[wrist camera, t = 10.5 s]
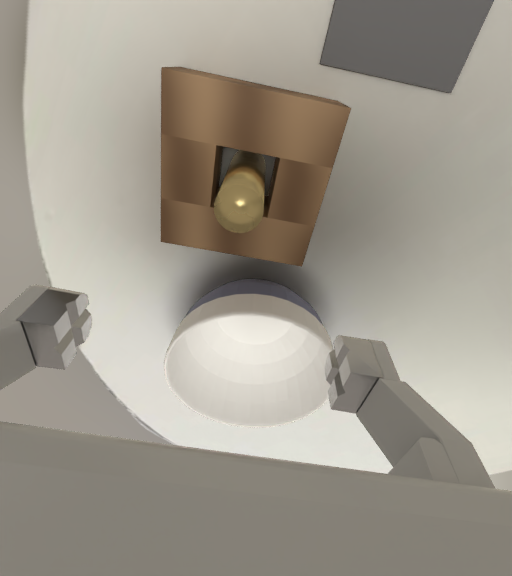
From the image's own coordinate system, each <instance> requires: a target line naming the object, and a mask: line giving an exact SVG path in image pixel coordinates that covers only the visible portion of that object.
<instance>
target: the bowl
mask: <svg viewBox="0 0 512 576" xmlns="http://www.w3.org/2000/svg"><path fill="white" fill-rule="evenodd" d="M332 350H334V349H333V346H332V343H331V340H330V337H329V335H328V333H327V331H326V329H325V327H324V326H323V324H322V322H321V320H320V318H319V316H318V315H317V313H316V311H315V310H314V309H313V308H312V307H311V306H310V304H309V303H308V302H306V301H305V300H304V299H302V298H301V297H300V296H298V295H297V294H296V293H294V292H293V291H291V290H290V289H288V288H286V287H284V286H282V285H280V284H278V283H274V282H271V281H268V280H260V279H243V280H238V281H233V282H230V283H228V284H225V285H223V286H220V287H218V288H217V289H215V290H213V291H211V292H209V293H208V294H206V295H205V296H203V297H202V298H200V299H199V300H198V301H197V302H196V303H195V304H194V305H193V306H192V307H191V309H190V310H189V312H188V313H187V315H186V316H185V318H184V319H183V320H182V321H181V323H180V325H179V327H178V328H177V330H176V332H175V334H174V336H173V338H172V341H171V343H170V345H169V347H168V350H167V352H166V356H165V361H164V371H165V377H166V380H167V383H168V386H169V387H170V389H171V390H172V392H173V393H174V395H175V396H176V397H177V398H178V399H179V400H180V401H181V402H182V403H183V404H184V405H185V406H186V407H188V408H189V409H191V410H192V411H194V412H195V413H197V414H199V415H201V416H203V417H205V418H207V419H210V420H213V421H216V422H219V423H222V424H227V425H231V426H237V427H247V428H265V427H274V426H280V425H284V424H288V423H292V422H295V421H297V420H300V419H303V418H305V417H307V416H308V415H310V414H312V413H314V412H315V411H317V410H318V409H319V408H320V407H322V406H323V405H324V404H325V403H326V402H327V401H328V399H329V395H328V390H329V388H330V386H331V385H330V384H329V383H328V382H327V381H326V377H325V364H326V359H327V357H328V354H329V352H331V351H332Z"/></svg>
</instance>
